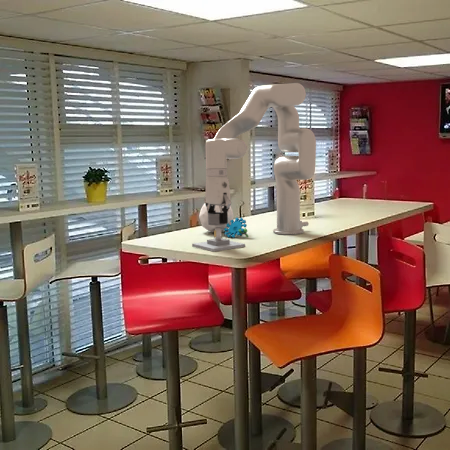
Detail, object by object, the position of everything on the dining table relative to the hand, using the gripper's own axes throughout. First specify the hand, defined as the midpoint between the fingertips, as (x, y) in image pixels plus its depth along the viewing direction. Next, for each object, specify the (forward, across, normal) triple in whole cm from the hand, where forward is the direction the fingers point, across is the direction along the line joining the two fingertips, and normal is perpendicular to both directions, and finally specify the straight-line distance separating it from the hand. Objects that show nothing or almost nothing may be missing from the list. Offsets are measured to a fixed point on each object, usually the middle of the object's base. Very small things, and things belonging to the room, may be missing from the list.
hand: (217, 222), depth 216 cm
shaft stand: (+9, 0, 0) cm, 9 cm away
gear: (+9, +13, -18) cm, 24 cm away
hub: (+1, 0, 0) cm, 1 cm away
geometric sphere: (+9, +29, -19) cm, 36 cm away
